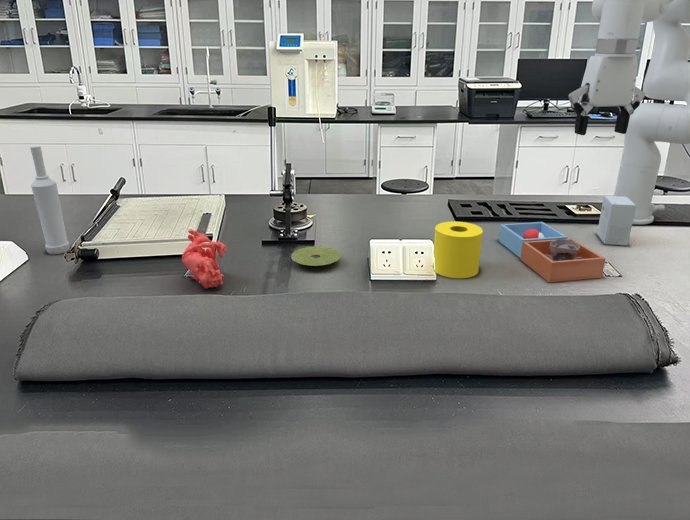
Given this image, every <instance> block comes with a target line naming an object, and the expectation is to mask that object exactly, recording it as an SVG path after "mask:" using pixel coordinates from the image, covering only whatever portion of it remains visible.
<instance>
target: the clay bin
mask: <svg viewBox="0 0 690 520" xmlns="http://www.w3.org/2000/svg"><path fill="white" fill-rule="evenodd" d="M566 240H570V241H573V242H575V243H577V244H578V245H579V246H580V248H579V250H578V253H577V254H576V256H575V257H582V258H583V259H576V260H563V261H552V260H551V259H550V258H548V257H547V256H545V254H547V255H552V254H555V253H552V252H551V251H550V249H549V245H550V243H551V242H552V241H555V240H542V241H528V242H523V245H522V252H521V258H520V261H521V262H522V263H524V264H525V265H527V266H528V267H529V268H530V269H531V270H533V271H534V272H535V273H536V274H538V275H539V276H540V277H541V278H543V279H544V280H546V281H547V282H548V283H556V282H557V283H558V282H567V281H578V280H580V281H581V280H591V279H601V278H603V273H604V268H605V264H606V260H607V259H606V257H604V256H602V255H601V254H599V253H598V252H596V251H595V250H592V249H591V248H589V247H588V246H586V245H584V244H582V243H581V242H580V241H577V240H576V239H574V238H572V237H571V238H568V239H566Z"/></svg>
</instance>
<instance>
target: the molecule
mask: <svg viewBox="0 0 690 520" xmlns="http://www.w3.org/2000/svg"><path fill="white" fill-rule="evenodd" d="M533 238H544V235H543V234H542V233H540V232H538V231H537V230H535V229H529V230H527V231H526V232H525V233H524V235H523V239H533Z"/></svg>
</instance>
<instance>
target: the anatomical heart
mask: <svg viewBox="0 0 690 520" xmlns="http://www.w3.org/2000/svg"><path fill="white" fill-rule="evenodd" d="M187 232H188V235H187V238H188V240H189V241H191V243H189V244H188V246H186V248H185V250H184V251H183V252H182V255H181V262H182V264H183V265H184V266H185V268H186V269H187V270H188V271H189V272H190V273H191V274H192V275H191V276H190V277H191V278H192V279H193V280H194V281H196V282H198V283H199V285H201V286H202V287H203V288H204V289H209V288H217V287H218V286H219V285H221V286H222V285H224V280H223V278H224V274H223V273H221V270H220V265H219V263H218V261H217V254H218V256H219V258H220V259H223V258H224V257H225V256H224V254H226V253H227V252H228V249H227V248H228V247H227V246H226V244H224V243H223V242H222V241H219V239H218V240H216V241H213V240H211V239H210V238H209V237H208V236H207V234H206V233H204V234H203V233H199V232H198V230H194V229H192V228H189V229H187Z"/></svg>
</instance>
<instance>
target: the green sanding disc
mask: <svg viewBox="0 0 690 520" xmlns="http://www.w3.org/2000/svg"><path fill="white" fill-rule="evenodd" d="M290 258H291V260H292V261H293V262H295V263H297V264H300V265H303V266H311V267H312V266H315V267H317V266H325V265H331V264H332V263H336V262H337V261H339V260H340V259H341V253H340V252H339V251H338V250H336V249H334V248H331V247H325V246H307V247H302V248H299V249H297V250H294V251H293V252H292V253H291V255H290Z"/></svg>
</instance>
